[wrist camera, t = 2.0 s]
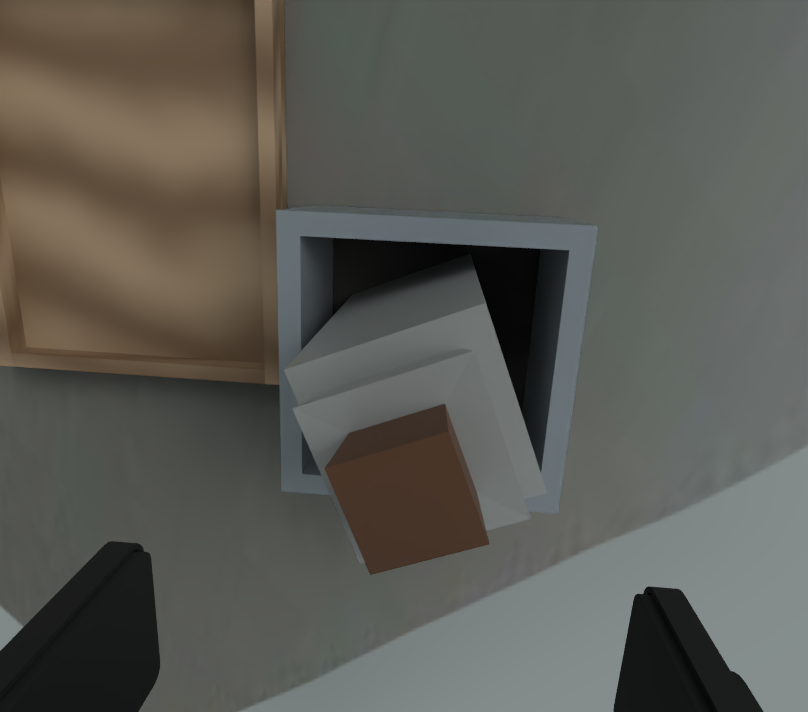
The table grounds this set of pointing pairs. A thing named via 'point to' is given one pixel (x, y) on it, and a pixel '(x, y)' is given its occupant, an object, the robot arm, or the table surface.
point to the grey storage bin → (556, 237)
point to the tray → (142, 186)
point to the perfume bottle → (415, 419)
